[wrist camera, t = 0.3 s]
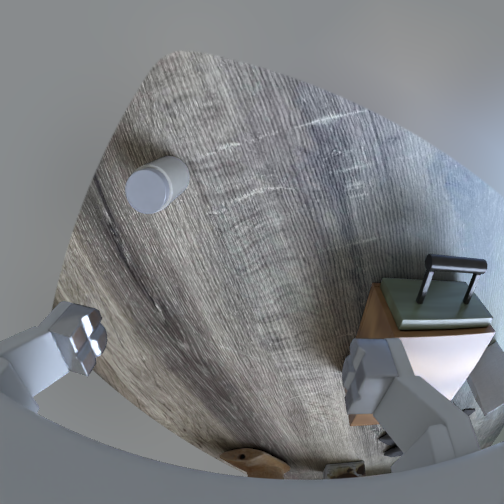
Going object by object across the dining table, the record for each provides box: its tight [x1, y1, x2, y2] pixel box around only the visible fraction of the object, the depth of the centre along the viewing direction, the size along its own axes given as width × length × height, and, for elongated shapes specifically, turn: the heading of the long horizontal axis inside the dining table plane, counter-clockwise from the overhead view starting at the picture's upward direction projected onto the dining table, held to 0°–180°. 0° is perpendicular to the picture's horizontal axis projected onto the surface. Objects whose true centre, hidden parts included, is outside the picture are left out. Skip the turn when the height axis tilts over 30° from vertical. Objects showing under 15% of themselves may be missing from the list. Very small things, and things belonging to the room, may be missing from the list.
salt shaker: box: [125, 156, 190, 214], centre depth 24 cm, size 4×4×6 cm
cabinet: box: [345, 283, 495, 426], centre depth 28 cm, size 15×13×9 cm
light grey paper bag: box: [466, 341, 504, 416], centre depth 29 cm, size 4×7×10 cm, turn 122°
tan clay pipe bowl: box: [220, 448, 290, 479], centre depth 43 cm, size 15×12×15 cm
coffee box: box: [323, 461, 365, 479], centre depth 44 cm, size 9×6×16 cm
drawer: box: [380, 254, 493, 331], centre depth 26 cm, size 18×11×7 cm, turn 178°
